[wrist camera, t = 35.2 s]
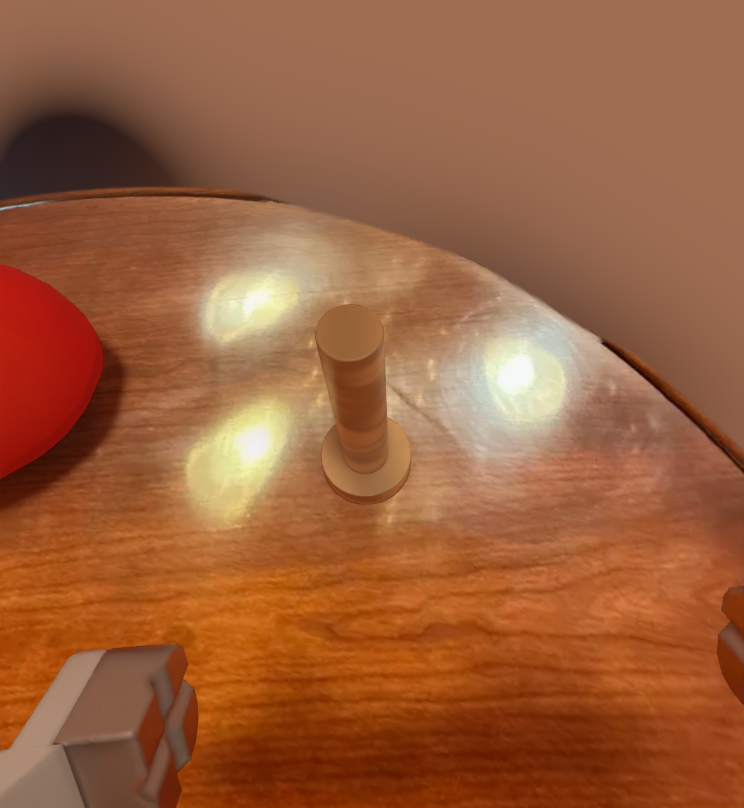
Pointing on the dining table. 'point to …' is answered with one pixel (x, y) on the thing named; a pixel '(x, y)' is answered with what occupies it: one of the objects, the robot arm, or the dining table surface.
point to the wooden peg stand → (359, 409)
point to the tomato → (41, 367)
